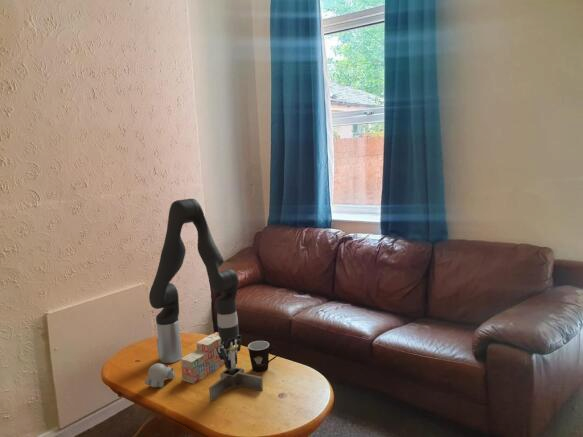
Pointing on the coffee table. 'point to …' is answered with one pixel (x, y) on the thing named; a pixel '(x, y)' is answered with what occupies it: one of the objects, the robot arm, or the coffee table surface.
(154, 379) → the chubby cartoon animal
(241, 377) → the hinge leaves
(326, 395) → the coffee table surface
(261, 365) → the coffee mug
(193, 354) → the stack of blocks
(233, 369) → the hinge pin
